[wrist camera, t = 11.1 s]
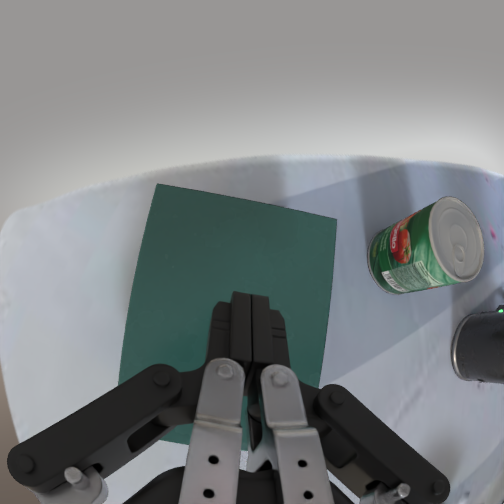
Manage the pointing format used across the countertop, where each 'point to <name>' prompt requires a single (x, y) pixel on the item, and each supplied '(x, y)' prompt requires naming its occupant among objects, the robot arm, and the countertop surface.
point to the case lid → (225, 281)
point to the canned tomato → (428, 249)
